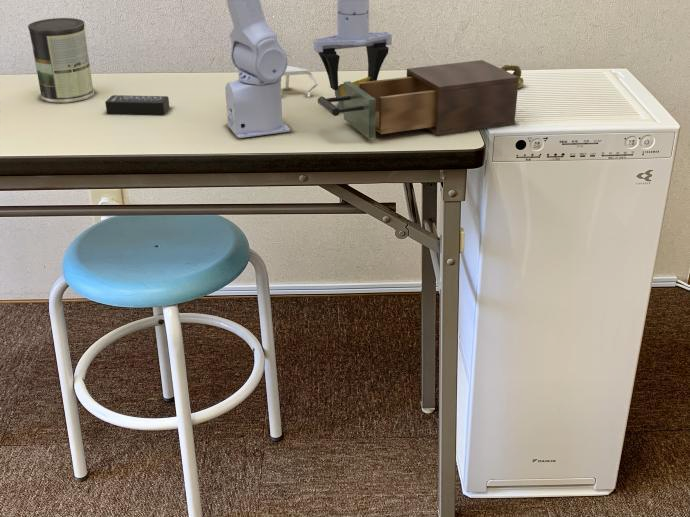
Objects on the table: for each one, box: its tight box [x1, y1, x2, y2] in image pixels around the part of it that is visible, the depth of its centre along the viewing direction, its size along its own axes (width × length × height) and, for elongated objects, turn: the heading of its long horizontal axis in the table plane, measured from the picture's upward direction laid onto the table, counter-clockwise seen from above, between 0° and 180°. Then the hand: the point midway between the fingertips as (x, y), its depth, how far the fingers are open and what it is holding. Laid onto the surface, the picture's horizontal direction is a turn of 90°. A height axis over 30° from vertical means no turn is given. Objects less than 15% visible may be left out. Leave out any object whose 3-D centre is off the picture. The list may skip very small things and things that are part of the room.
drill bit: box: [334, 76, 371, 109], centre depth 155 cm, size 5×5×10 cm
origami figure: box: [281, 65, 319, 98], centre depth 165 cm, size 12×8×5 cm
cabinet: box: [406, 59, 519, 137], centre depth 150 cm, size 16×13×9 cm
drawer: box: [317, 76, 437, 140], centre depth 144 cm, size 20×11×7 cm, turn 112°
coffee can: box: [27, 17, 95, 104], centre depth 163 cm, size 10×10×14 cm
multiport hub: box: [104, 94, 170, 116], centre depth 156 cm, size 4×11×2 cm, turn 86°
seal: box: [500, 64, 524, 89], centre depth 170 cm, size 9×5×15 cm
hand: (353, 86), depth 155 cm, fingers open, 7 cm apart
